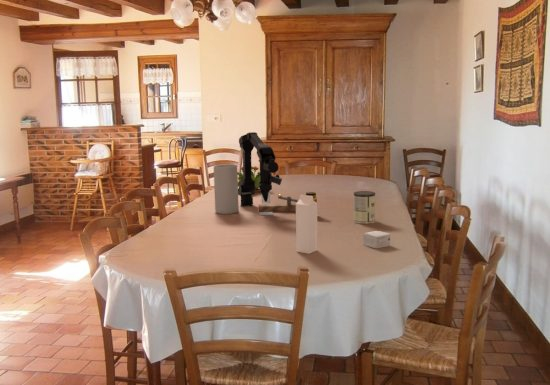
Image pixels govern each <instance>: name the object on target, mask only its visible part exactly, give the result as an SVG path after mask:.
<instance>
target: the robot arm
mask: <svg viewBox="0 0 550 385" xmlns="http://www.w3.org/2000/svg"><path fill="white" fill-rule="evenodd" d="M238 144H239V148H240V149H241V151H242V167H243V171H242V174H243V178H242V179H241V181H240V186H239V187H238V196H240V207H252V206H253V204H254V197H253V195H255V193H256V192H255V182H254V181H253V179H252V177H251V171H252V169H251V166H252V152H253V150H254V148H255V149H256V155H257V158H258V162H259V172H260V188H259V189H260V191H259V192H260V193H261V197H262V196H263V198H264V200H265V202H267V199H268V193H269V192H270V191H271V190H273V185H272V183H273V184H276V185H278V186H281V184H282V181H283V179H282V178H281V177H280V175H279V174H276V175H272V174H275V173H277V172H278V170H279V164H278V162H276V154H275V153H274V149H273V148H272V147H271V146H270V145H269V144H266V143H264V142H263V140H262V139H261V138H260V136H259V135H258V132H255V131H253V132H250V131H249V132H247V133H245V134H243V135H241V136H240V137H239V138H238Z"/></svg>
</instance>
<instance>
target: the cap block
mask: <svg viewBox="0 0 550 385" xmlns="http://www.w3.org/2000/svg"><path fill="white" fill-rule="evenodd" d="M261 204H271V192H270V191H269V193H268V199H267V202H265V200H264V198H263V196H262V195H261Z"/></svg>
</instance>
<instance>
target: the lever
mask: <svg viewBox="0 0 550 385" xmlns="http://www.w3.org/2000/svg"><path fill="white" fill-rule="evenodd" d="M277 199H279V200H284V201H287V197H285V196H283V195H282V194H278V196H277ZM298 201H299V199H296V198H292V197H291V202H293V203H294V202H295V203H297V202H298Z"/></svg>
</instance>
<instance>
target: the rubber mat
mask: <svg viewBox="0 0 550 385" xmlns="http://www.w3.org/2000/svg"><path fill="white" fill-rule="evenodd" d="M259 216H260V217H261V216H263V217H264V216H274V212H259Z"/></svg>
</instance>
